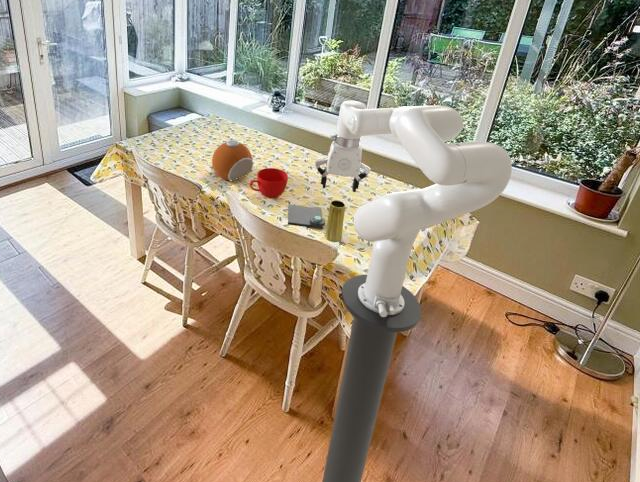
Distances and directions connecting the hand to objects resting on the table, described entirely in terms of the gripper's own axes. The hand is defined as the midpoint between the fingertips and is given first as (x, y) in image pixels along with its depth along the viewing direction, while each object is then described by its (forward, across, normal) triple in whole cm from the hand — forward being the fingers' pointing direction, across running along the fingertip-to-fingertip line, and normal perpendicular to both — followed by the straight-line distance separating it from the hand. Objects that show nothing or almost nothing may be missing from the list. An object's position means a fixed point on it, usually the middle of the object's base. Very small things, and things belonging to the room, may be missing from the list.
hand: (338, 188), depth 135 cm
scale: (+24, -8, +18) cm, 31 cm away
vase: (+24, +2, +6) cm, 25 cm away
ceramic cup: (+25, -24, +32) cm, 47 cm away
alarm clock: (+26, -41, +49) cm, 69 cm away
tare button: (+22, -3, +13) cm, 26 cm away
